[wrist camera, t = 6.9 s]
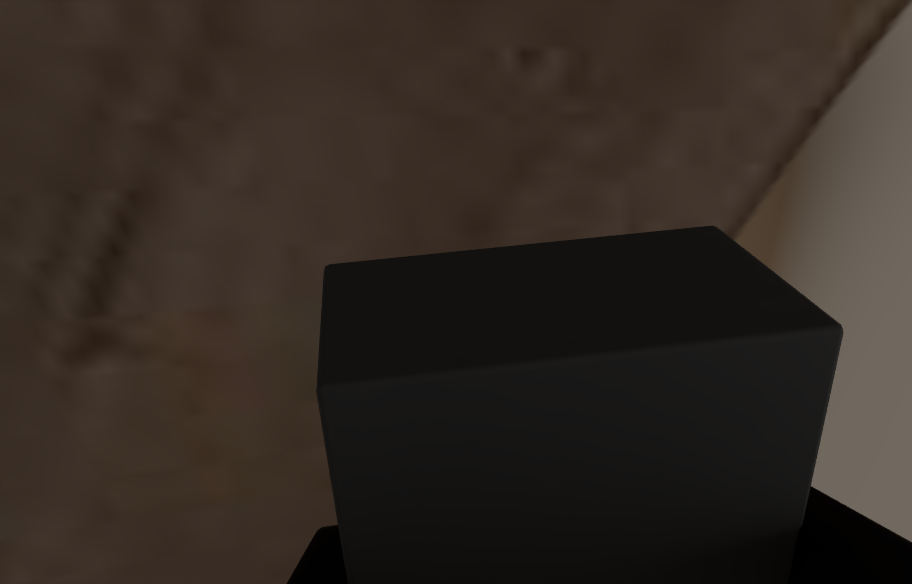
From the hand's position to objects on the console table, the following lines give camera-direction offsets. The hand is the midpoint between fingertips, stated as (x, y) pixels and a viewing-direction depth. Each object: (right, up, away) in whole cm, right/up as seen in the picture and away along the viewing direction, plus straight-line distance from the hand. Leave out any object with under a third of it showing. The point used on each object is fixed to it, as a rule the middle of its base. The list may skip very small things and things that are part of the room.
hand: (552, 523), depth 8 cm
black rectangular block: (0, +1, +1) cm, 1 cm away
